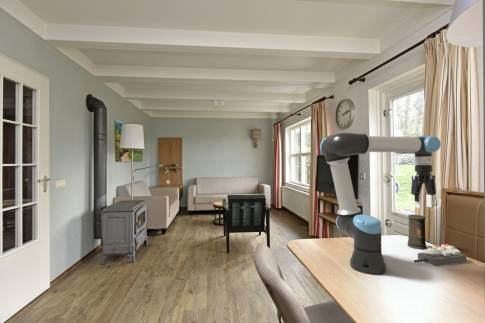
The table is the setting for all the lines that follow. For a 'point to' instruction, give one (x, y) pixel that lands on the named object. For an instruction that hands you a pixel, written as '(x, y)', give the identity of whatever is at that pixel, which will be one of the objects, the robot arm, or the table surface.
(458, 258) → the rocker switch panel
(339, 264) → the table surface
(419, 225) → the container
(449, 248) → the rocker
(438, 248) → the rocker
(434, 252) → the rocker
